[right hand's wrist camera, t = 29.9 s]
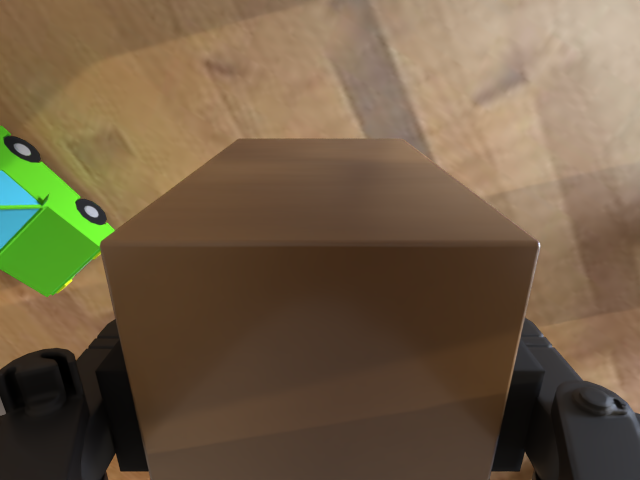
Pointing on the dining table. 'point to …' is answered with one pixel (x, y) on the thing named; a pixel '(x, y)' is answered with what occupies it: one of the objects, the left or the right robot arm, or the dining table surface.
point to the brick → (320, 316)
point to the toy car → (43, 221)
